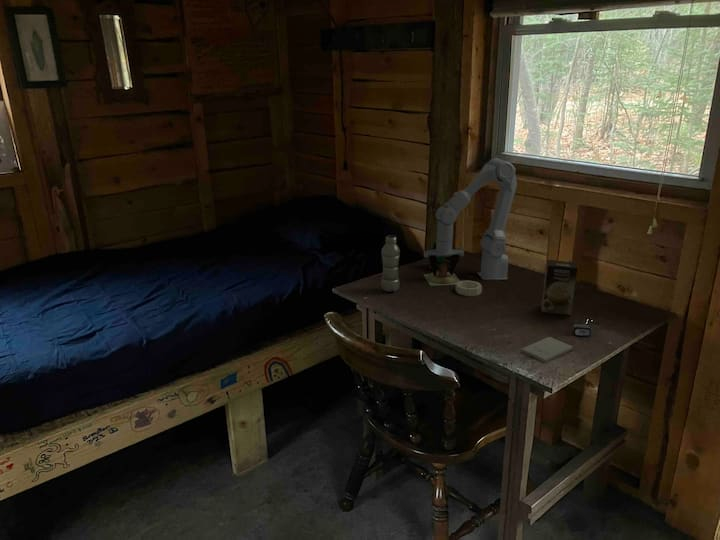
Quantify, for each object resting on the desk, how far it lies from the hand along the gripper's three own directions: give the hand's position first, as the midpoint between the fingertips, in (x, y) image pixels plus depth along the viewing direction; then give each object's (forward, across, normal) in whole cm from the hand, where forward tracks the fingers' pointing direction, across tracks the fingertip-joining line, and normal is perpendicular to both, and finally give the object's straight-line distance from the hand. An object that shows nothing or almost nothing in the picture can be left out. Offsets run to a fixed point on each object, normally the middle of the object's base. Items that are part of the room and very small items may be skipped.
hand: (442, 274), depth 208 cm
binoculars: (+3, -3, -13) cm, 14 cm away
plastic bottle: (+3, +21, +8) cm, 23 cm away
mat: (+2, 0, 0) cm, 2 cm away
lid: (+2, 0, 0) cm, 2 cm away
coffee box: (+3, -30, +31) cm, 43 cm away
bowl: (+2, -6, +13) cm, 15 cm away
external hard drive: (+3, -15, +58) cm, 60 cm away
